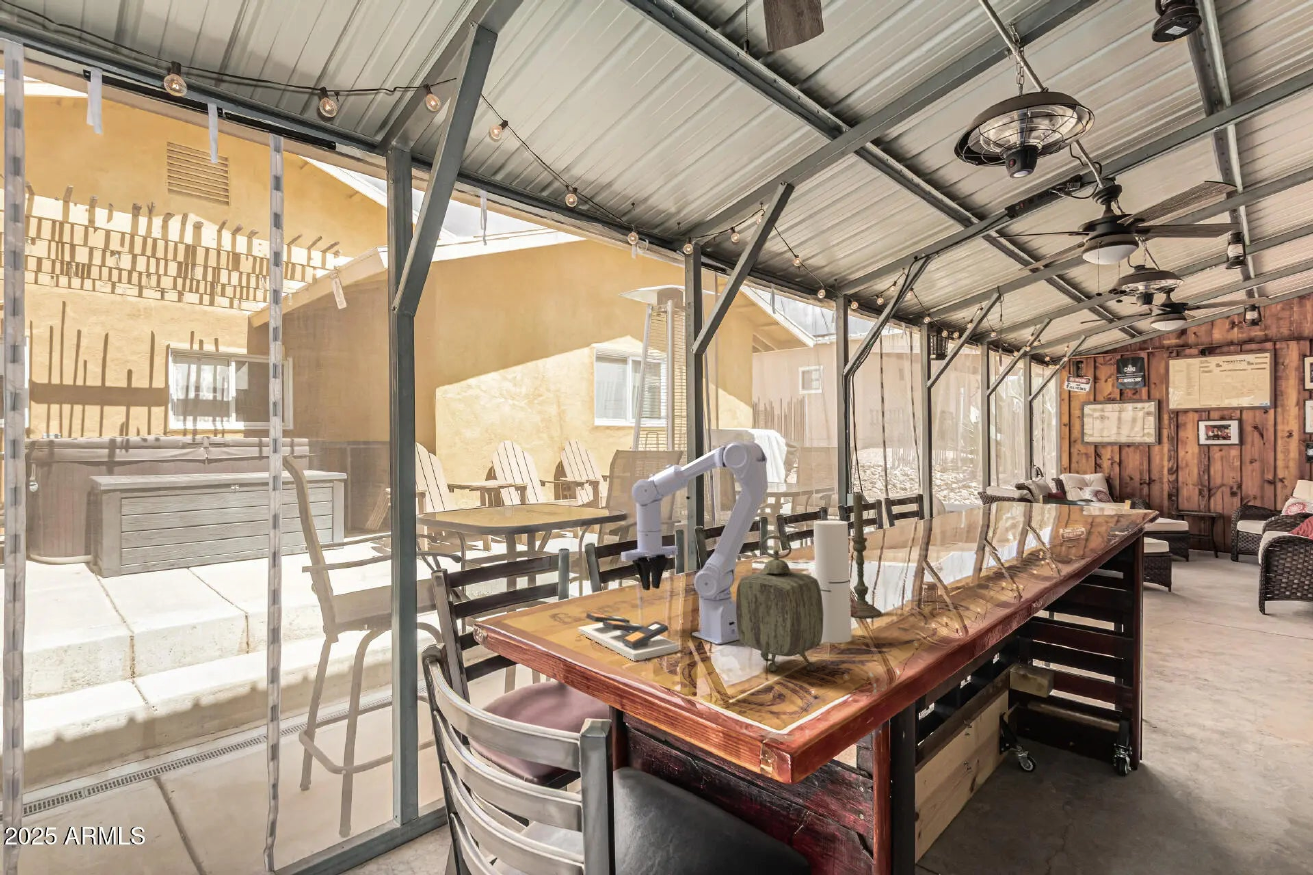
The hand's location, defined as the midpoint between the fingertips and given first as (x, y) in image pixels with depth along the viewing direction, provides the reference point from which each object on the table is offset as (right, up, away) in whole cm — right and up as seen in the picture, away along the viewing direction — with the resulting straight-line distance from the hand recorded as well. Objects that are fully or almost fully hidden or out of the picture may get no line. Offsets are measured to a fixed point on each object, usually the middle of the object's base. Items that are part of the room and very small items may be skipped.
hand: (651, 588), depth 153 cm
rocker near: (-1, -6, -16) cm, 17 cm away
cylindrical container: (+40, -8, -11) cm, 42 cm away
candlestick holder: (+52, -8, +8) cm, 53 cm away
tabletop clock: (+24, -8, -30) cm, 39 cm away
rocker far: (-10, -6, -3) cm, 12 cm away
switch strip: (-5, -9, -10) cm, 15 cm away
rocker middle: (-6, -6, -10) cm, 13 cm away
